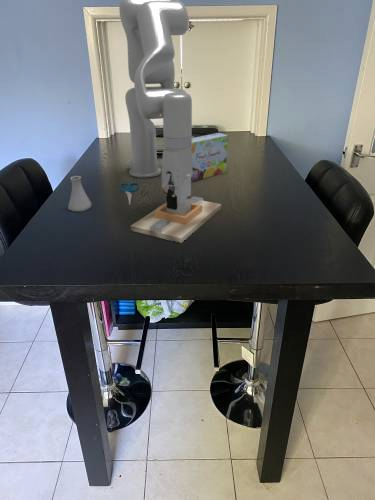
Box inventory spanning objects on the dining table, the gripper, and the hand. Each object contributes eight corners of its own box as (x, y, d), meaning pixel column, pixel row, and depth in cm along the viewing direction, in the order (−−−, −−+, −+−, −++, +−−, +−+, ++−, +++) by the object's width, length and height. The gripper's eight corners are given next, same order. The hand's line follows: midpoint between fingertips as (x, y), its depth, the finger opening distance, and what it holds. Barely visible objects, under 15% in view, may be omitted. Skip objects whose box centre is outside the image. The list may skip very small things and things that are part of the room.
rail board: (131, 230, 106) (130, 219, 104) (176, 199, 126) (176, 189, 124) (181, 243, 99) (181, 231, 97) (220, 208, 119) (221, 198, 117)
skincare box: (173, 219, 109) (173, 178, 103) (165, 213, 112) (164, 174, 106) (191, 214, 112) (192, 174, 106) (183, 209, 115) (183, 170, 109)
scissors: (138, 182, 139) (140, 204, 122) (138, 185, 140) (140, 206, 122) (119, 183, 138) (119, 205, 121) (120, 186, 139) (119, 207, 122)
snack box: (187, 184, 139) (186, 143, 132) (177, 180, 143) (176, 140, 135) (226, 172, 151) (228, 134, 144) (216, 169, 155) (218, 131, 148)
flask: (96, 205, 122) (92, 175, 117) (83, 213, 116) (79, 182, 111) (77, 202, 124) (72, 172, 119) (63, 210, 118) (58, 179, 113)
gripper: (181, 134, 110) (181, 192, 118) (148, 148, 96) (151, 212, 105) (204, 137, 107) (203, 196, 115) (173, 151, 93) (175, 217, 102)
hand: (178, 203), depth 110 cm, fingers closed on skincare box, 7 cm apart
